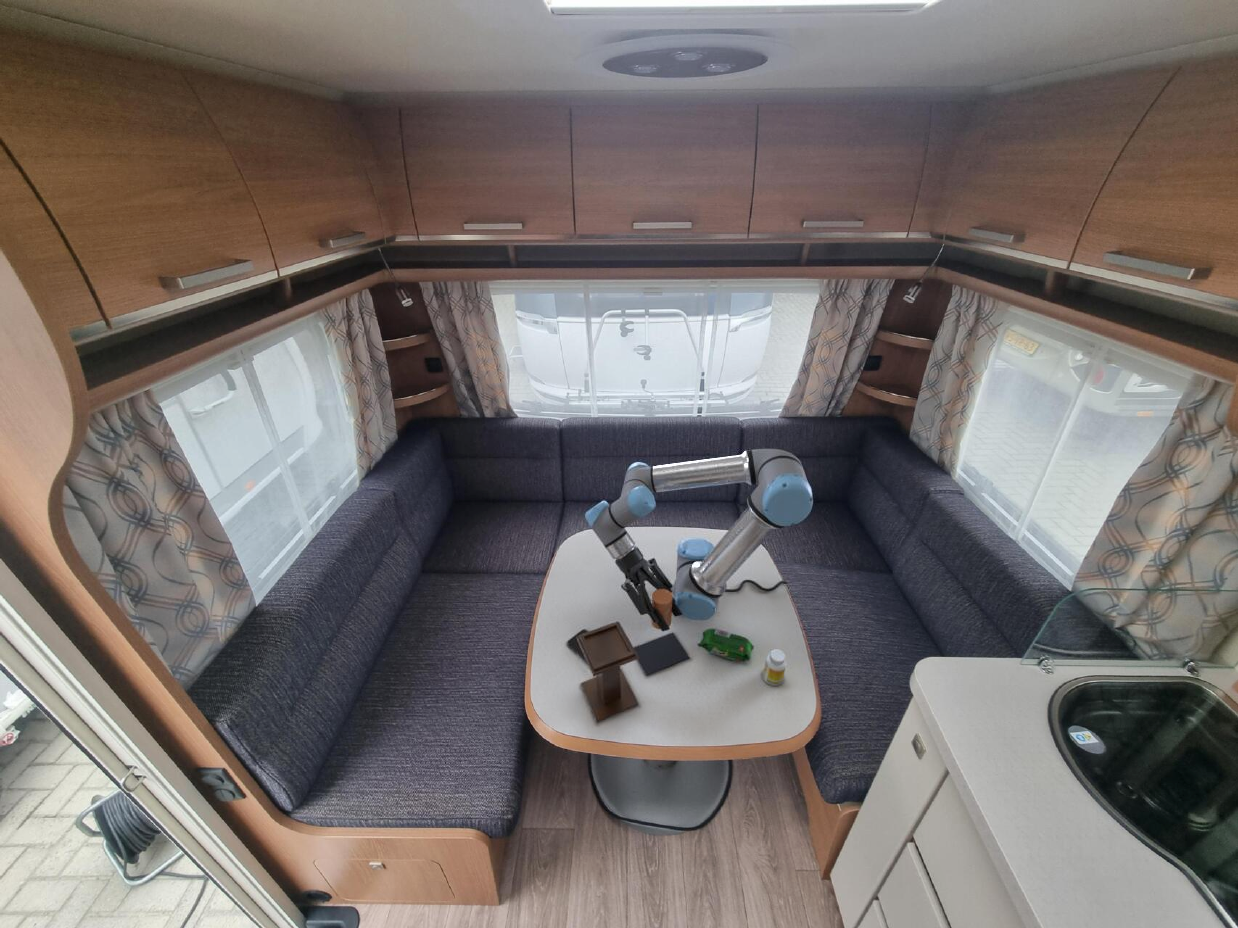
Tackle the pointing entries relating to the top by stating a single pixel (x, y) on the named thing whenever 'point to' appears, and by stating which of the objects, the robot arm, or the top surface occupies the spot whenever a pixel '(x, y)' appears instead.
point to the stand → (607, 670)
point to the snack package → (726, 645)
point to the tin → (662, 605)
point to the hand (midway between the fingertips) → (672, 622)
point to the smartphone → (577, 644)
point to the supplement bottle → (774, 667)
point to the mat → (660, 654)
